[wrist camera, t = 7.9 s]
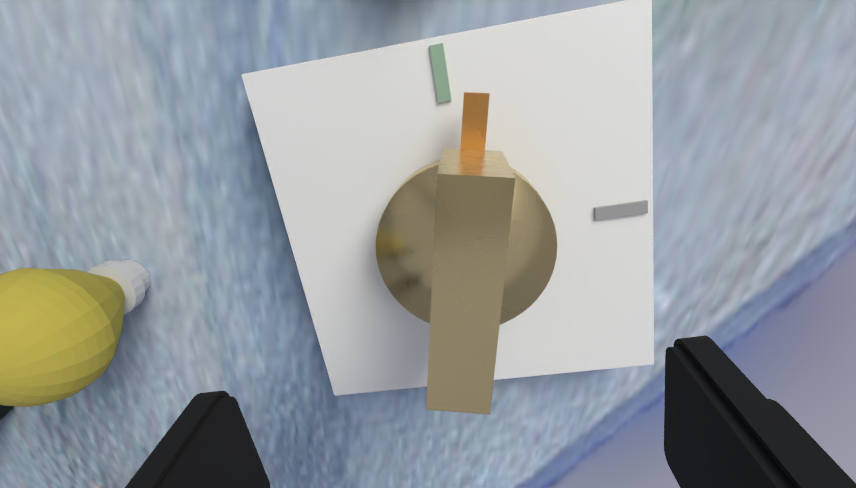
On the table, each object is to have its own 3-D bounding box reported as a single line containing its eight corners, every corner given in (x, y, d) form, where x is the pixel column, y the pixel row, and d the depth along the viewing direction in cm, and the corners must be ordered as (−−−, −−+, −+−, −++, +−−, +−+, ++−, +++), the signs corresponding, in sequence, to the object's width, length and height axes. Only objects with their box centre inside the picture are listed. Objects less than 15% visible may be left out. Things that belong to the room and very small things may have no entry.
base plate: (346, 365, 30) (333, 397, 27) (267, 73, 24) (239, 74, 21) (634, 334, 28) (655, 366, 25) (627, 5, 22) (653, -6, 19)
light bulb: (147, 342, 30) (8, 463, 21) (59, 274, 29) (-131, 370, 20) (205, 280, 29) (81, 382, 19) (114, 203, 27) (-68, 273, 18)
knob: (535, 318, 24) (565, 420, 17) (383, 308, 25) (352, 403, 18) (566, 94, 20) (622, 107, 13) (385, 86, 21) (345, 94, 14)
